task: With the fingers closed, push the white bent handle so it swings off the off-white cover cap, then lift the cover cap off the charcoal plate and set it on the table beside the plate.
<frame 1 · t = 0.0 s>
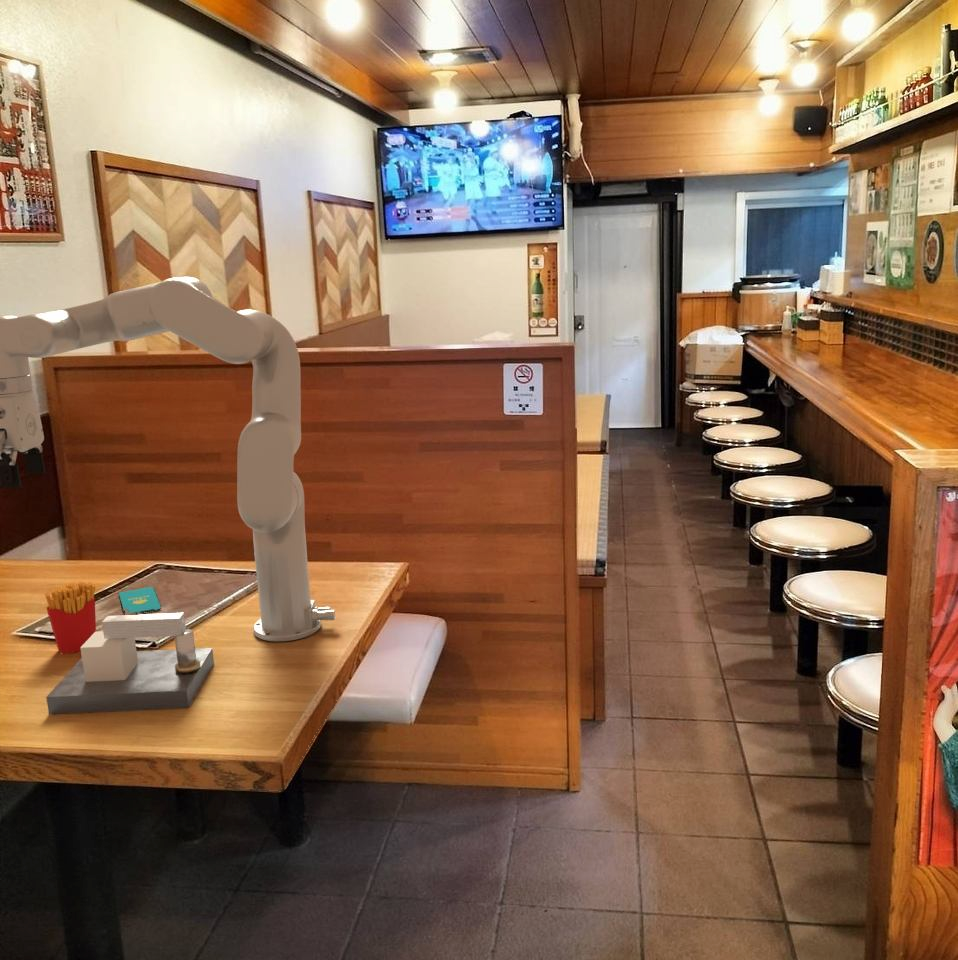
hand: (24, 480, 166), 31 cm above the table, tool pointing down, fingers open, 9 cm apart
smartphone: (140, 604, 191), on the table
base plate: (135, 687, 153), on the table
cover cap: (112, 672, 152), point 3 cm above the table, touching base plate
french fries: (79, 647, 170), on the table
white bent handle: (152, 643, 151), point 8 cm above the table, hinge at 0.0°
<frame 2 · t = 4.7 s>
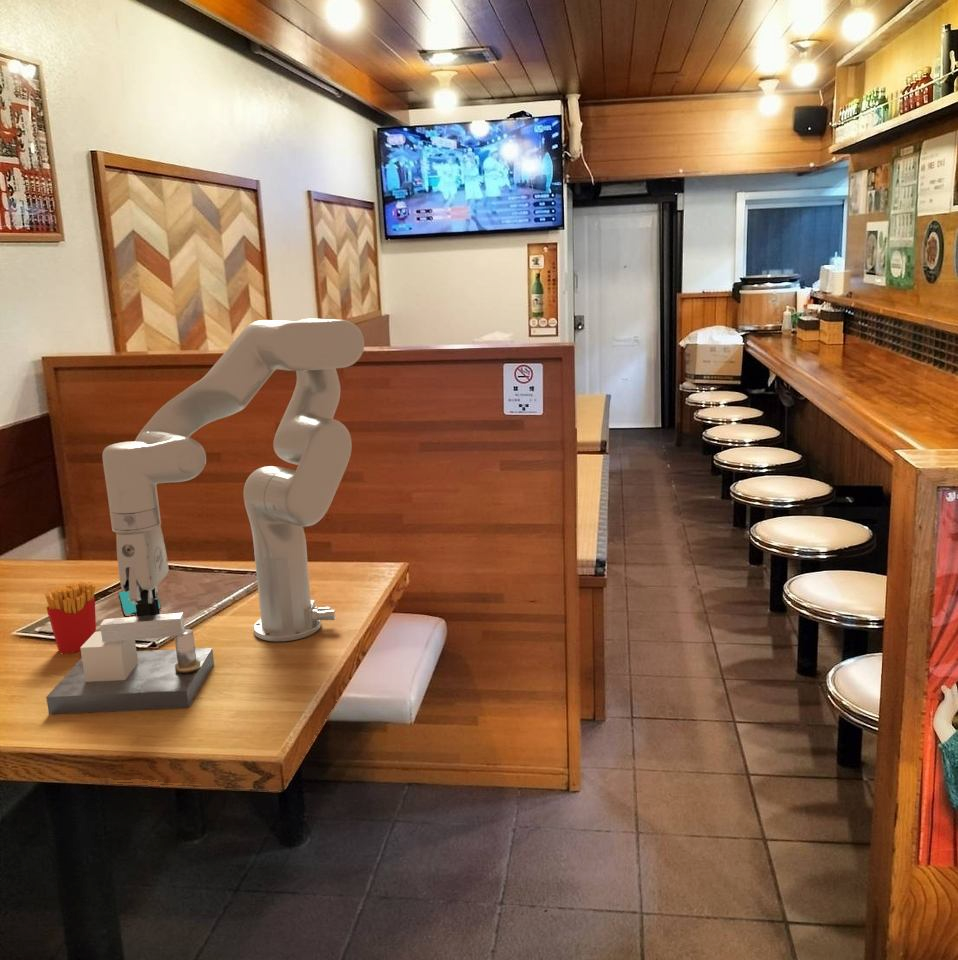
hand: (149, 623, 153), 10 cm above the table, tool pointing down, fingers closed
white bent handle: (151, 644, 150), point 8 cm above the table, hinge at 6.5°, touching gripper
everything else where it was.
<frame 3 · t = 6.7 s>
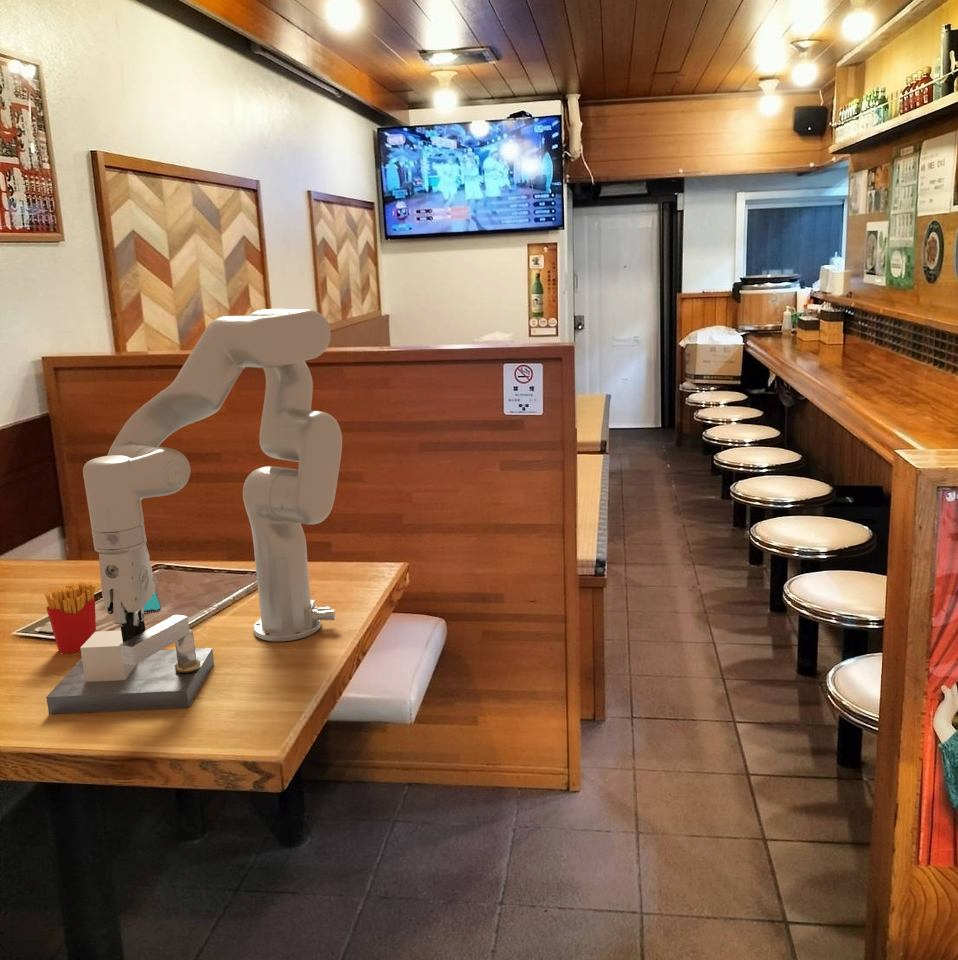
hand: (135, 646, 145), 10 cm above the table, tool pointing down, fingers closed
white bent handle: (162, 654, 146), point 8 cm above the table, hinge at 65.5°, touching gripper
everything else where it was.
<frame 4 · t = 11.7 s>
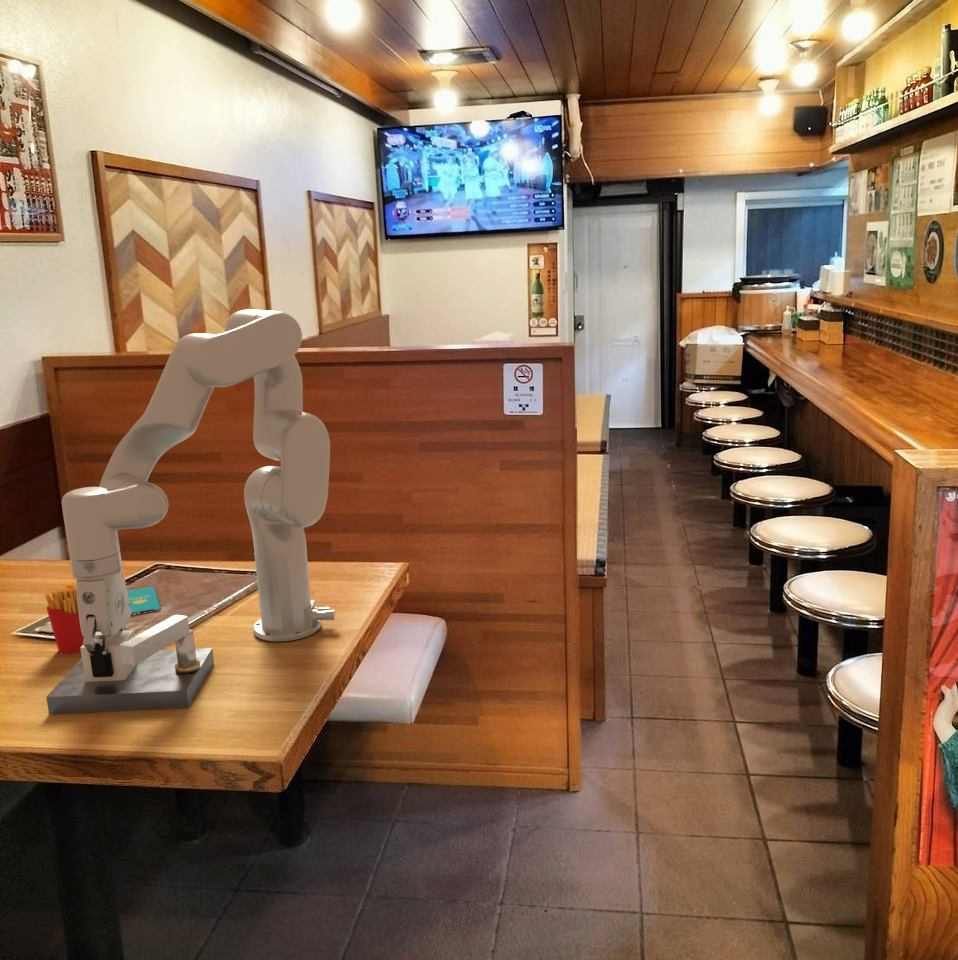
hand: (111, 665, 152), 4 cm above the table, tool pointing down, fingers closed on cover cap, 6 cm apart
cover cap: (112, 672, 152), point 3 cm above the table, touching base plate, gripper
white bent handle: (162, 654, 146), point 8 cm above the table, hinge at 65.6°
everything else where it was.
when the fingers open (2 cm above the table, at t = 19.1 s): cover cap drops 1 cm, on the table.
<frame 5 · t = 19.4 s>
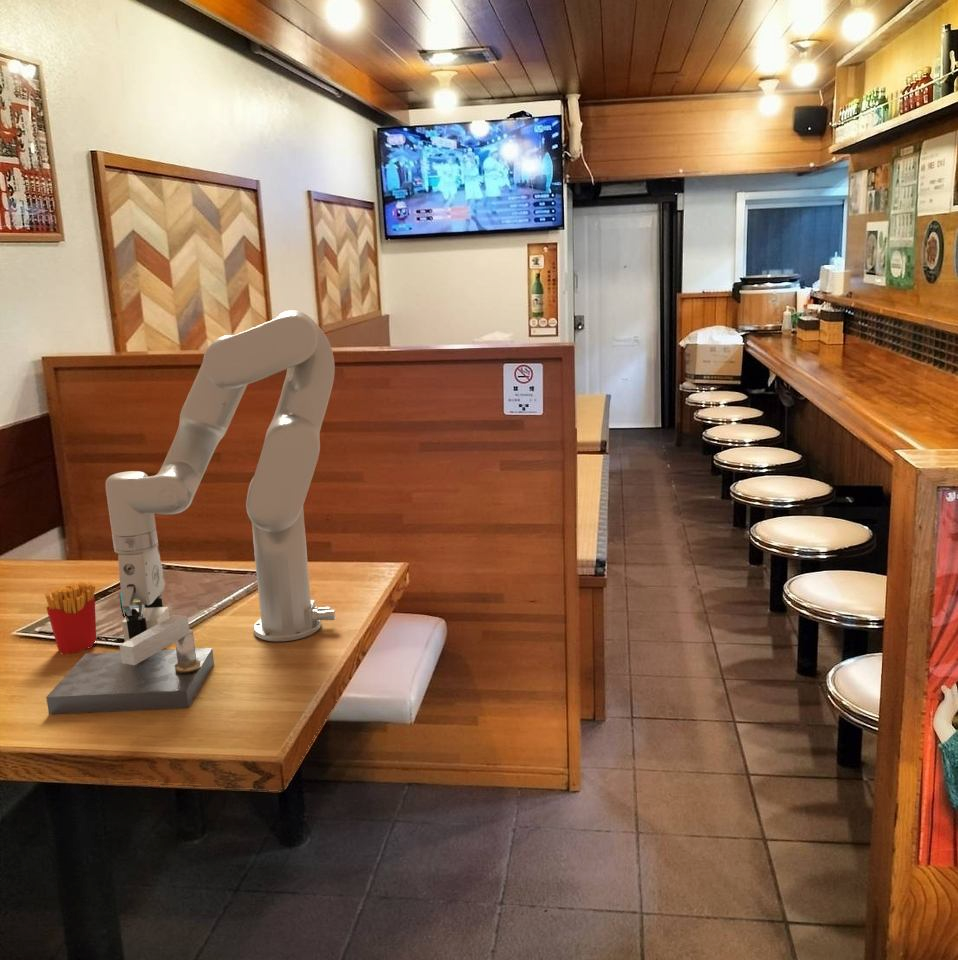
hand: (147, 628, 169), 3 cm above the table, tool pointing down, fingers open, 9 cm apart
cover cap: (149, 644, 170), on the table
everything else where it was.
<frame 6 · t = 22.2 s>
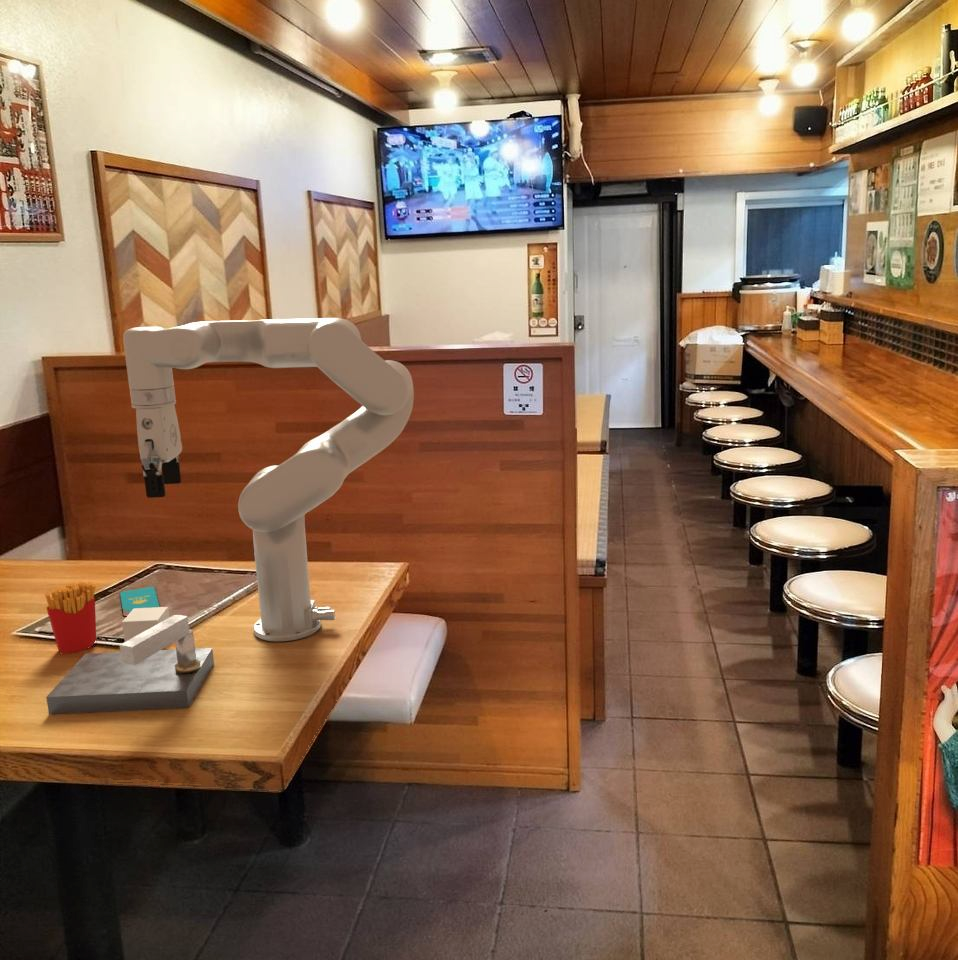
hand: (164, 490, 167), 28 cm above the table, tool pointing down, fingers open, 9 cm apart
nothing on the table moved.
at the end: white bent handle at +66° (first picture: +0°); cover cap inside the target area (0.0 cm from its centre), on the table; cover cap tilted 0° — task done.
